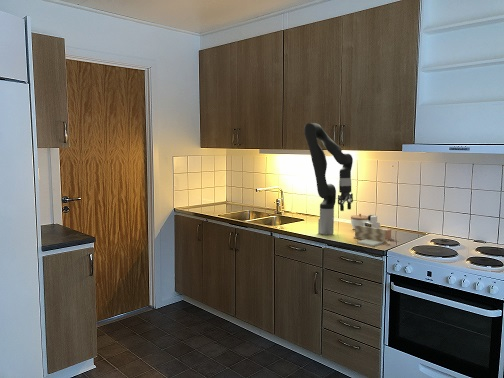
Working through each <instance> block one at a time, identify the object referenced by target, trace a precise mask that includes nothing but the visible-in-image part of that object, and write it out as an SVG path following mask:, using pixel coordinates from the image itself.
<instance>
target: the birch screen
mask: <svg viewBox="0 0 504 378" xmlns="http://www.w3.org/2000/svg"><path fill="white" fill-rule="evenodd" d="M385 229H386V228H385ZM385 229H384V228H380V229H379V228H373V227H366V226H360V225H355V229H354V236H353V239H357V240H360V241H361V240H365V239H368V240H373V241H379V242H382V244H385V243H387V240H385Z"/></svg>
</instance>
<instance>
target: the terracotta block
mask: <svg viewBox="0 0 504 378" xmlns="http://www.w3.org/2000/svg"><path fill="white" fill-rule="evenodd" d="M383 229H385V241H388V240H391V239H392V228H386V227H385V228H384V227H383Z"/></svg>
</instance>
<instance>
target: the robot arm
mask: <svg viewBox="0 0 504 378" xmlns="http://www.w3.org/2000/svg"><path fill="white" fill-rule="evenodd" d="M303 133H304V137H305V139H306V142H307V145H308V149H309V154H310V158H311V163H312V166H313V170H314V176H315V180H316V181H315V182H316V187H317V188H316V189H317V193H318V196H319V197H320V198H321V199H323V200H322V202H320V204H319V218H318V227H317V233H318V234H320V235H324V236H326V235H327V236H330V235H334V231H335V230H334V229H335V228H334V226H335V225H334V223H335V221H334V220H335V205H336V199H337V205H339V210H340V212H344V211H345V206H344V205H345V203H347V204H346V205H347V208H346V209H347V210H352V204H353V203H354V196H353V195H354V194H353V193H352V175H351V171H352V167H353V163H354V161H353V156H352V154H350V153H344V152H343V151H342V147H341V146H339V145H338V144H337V143H336V142H335V141H334V140H333V139H331V137H330V136H329V135H328V133H326V132H325V130H324V129H323V127H322V126H321V125H320V124H319V123H316V122H308V123H306V124H305V125H304V128H303ZM318 140H319V141H320V142H322V144H323V146H324V148H325V149H326V151H327V152H328V153H329V154H331V155H332V156H333V158H334V160H335V161H336V162H337V163H338V164H339V165H341V166H342V168H341V169H339V182H338V183H339V184H338V185H339V187H338V189H339V193H340V194H338V195H337V189H336V186H335V185H334V184H332V183H327V182H328V181H327V178H326V174H327V173H326V172H327V168H328V162H327V157H326V153H325V151H324V149H323V148H322V147H321V145H320V144H319V141H318Z"/></svg>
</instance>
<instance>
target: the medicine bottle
mask: <svg viewBox="0 0 504 378" xmlns="http://www.w3.org/2000/svg"><path fill="white" fill-rule="evenodd" d="M367 216H368V222H365V226H366V227H373V228H379V229H381V227H380V226H381V224H380V222H378V216H377V215H375V214H369V215H367Z"/></svg>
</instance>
